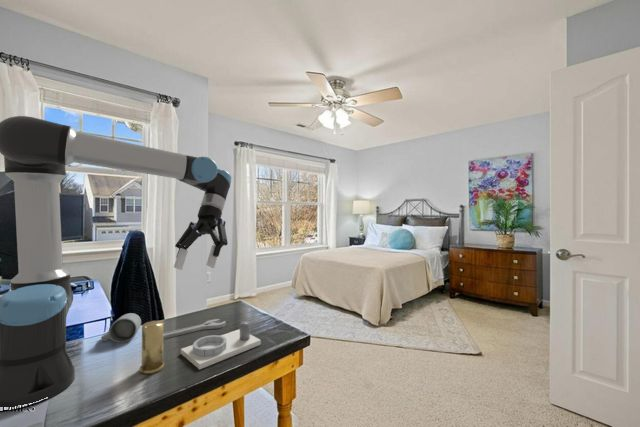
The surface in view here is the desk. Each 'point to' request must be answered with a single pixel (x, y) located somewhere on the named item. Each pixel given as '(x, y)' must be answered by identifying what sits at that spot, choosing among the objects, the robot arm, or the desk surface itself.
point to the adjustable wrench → (196, 328)
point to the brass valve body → (152, 347)
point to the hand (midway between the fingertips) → (193, 267)
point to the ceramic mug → (123, 328)
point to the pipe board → (220, 346)
